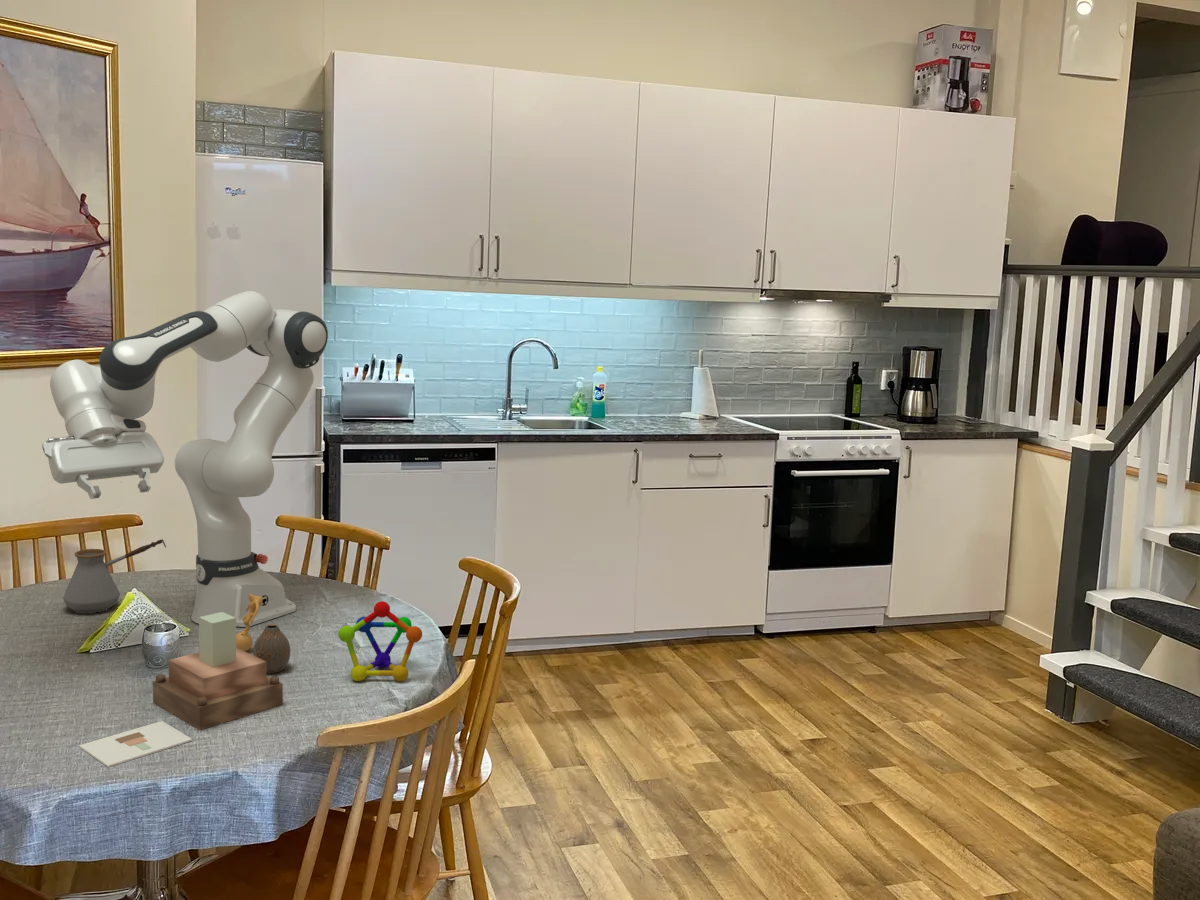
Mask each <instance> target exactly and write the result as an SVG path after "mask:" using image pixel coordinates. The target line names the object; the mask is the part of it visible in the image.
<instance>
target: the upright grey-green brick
mask: <svg viewBox="0 0 1200 900" xmlns="http://www.w3.org/2000/svg"><path fill="white" fill-rule="evenodd" d="M236 634H237V626H236V618H235V617H233V616H230V615H228V614H226V613H224V612H220V613H215V614H211V615H206V616H202V617H199V624H198V639H199V640H198V642H199V645H198V646H199V649H198V651H199V654H200V661H201V662H203V663H205V664H207V665H209V666H211V667H216V666H220V665H224V664H228V663H231V662H235V661H236Z"/></svg>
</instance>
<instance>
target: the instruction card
mask: <svg viewBox="0 0 1200 900" xmlns="http://www.w3.org/2000/svg"><path fill="white" fill-rule="evenodd" d="M190 742H193V739H192V738H191V737H190V736H188V735H186V733H185V734H184V732H181V731H180V730H178V729H176V728H174V727H173V726H171V725H169V724H168V723H166V722H165V721H163V720H161V721H158V722H153V723H151V724H148V725H147V724H146V725H143V726H140V727H137V728H134V729H133V728H132V729H129V730H126V731H124V732H119V733H116V734H114V735H110V736H107V737H103V738H100V739H96V740H93V741H90V742H85V743H82V744H79V745H78V748H79V749H80V750H82V751H84V752H85V753H86V754H88V755H89V756H91V757H92V758H94V759H95V760H97V761H98V762H99V763H101V764H102V765H104V766H105V767H107V768H110V767H113V766H117V765H119V764H123V763H126V762H130V761H132V760H136V759H139V758H142V757H146V756H148V755H153V754H155V753H158V752H162V751H164V750H167V749H171V748H174V747H178V746H181V745H184V744H187V743H190Z"/></svg>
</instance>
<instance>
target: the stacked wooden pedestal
mask: <svg viewBox="0 0 1200 900" xmlns="http://www.w3.org/2000/svg"><path fill="white" fill-rule="evenodd" d="M267 674H268V673H267V672H266V661H264V660H262V659H260V658H258V657H255V656H253V654H251V653H249V652H247V651H246V652H245V651H243V650H241V649H239V648H237V647H236V661H235V662H231V663H228V664H224V665H220V666H216V667H211V666H209V665H207V664H205V663H203V662H201V661H200V654H199V652H194V653H191V654H186V655H183V656H179V657H175V658H171V659H169V660H168V676H167V677H166V674H161V673H160V674H157V675H156V676H155V680H152V703H153V704H155V705H156V706H158V707H160V709H163V710H164V711H166V712H168V713H170V714H172V715H174V716H175V717H177V718H179V719H180V720H182V721H184V722H185V723H187V724H189V725H190V726H192V727H193V728H195V729H197V730H199V731H201V730H204V729H208V728H211V727H215V726H219V725H221V724H224V723H227V722H231V721H234V720H238V719H239V718H243V717H247V716H249V715H253V714H257V713H259V712H263V711H266V710H270V709H273V708H275V707H279V706H283V704H284V698H283V697H284V694H283V693H284V689H283V688H284V684H283V683H282V682H281V681H280V676H277V675H274V676H269V675H267Z"/></svg>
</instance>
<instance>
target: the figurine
mask: <svg viewBox="0 0 1200 900" xmlns="http://www.w3.org/2000/svg"><path fill="white" fill-rule="evenodd" d="M248 599H249V600H250V602H249V605H248V607H247V608H246V609H245V612H246V611H247V610H248V608H249V607H250V611H249V612H248V613H247V614H246V615H245V616H244V617H243V619H242V620H243V622H244V625H246V627H244V629H243V630H241V631H240V632H238V633H236V647H237V648H239V649H241V650H243V651H245V652H247V651H249V650H250V649H251V647H252V646H253V638H252V636H251V635H250V634H249V633H248V632H249V631H250V630H251V626H250V624H251V623H250V622H253V620H254V617H255V616H256V614H257V612H258V610H259V607H260V606H261V604H262V601H263V599H262V597H260V596H255V595H253V594H249V597H248ZM250 620H251V621H250ZM249 621H250V622H249ZM249 623H250V624H249Z"/></svg>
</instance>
